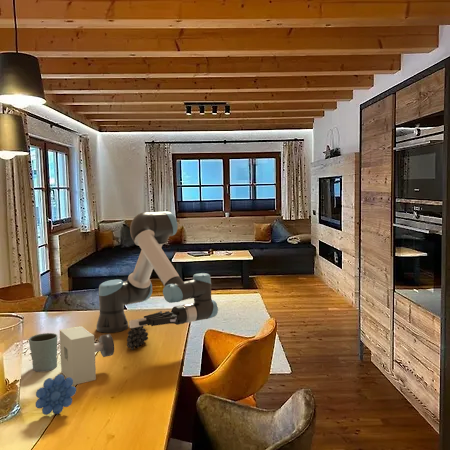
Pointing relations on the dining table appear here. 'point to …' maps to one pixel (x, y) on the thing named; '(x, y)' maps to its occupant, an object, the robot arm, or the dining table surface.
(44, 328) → the dining table surface
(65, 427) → the dining table surface
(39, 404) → the grapes
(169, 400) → the dining table surface
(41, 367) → the grey-green cup
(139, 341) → the fruit
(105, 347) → the knob
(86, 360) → the cream rectangular block
